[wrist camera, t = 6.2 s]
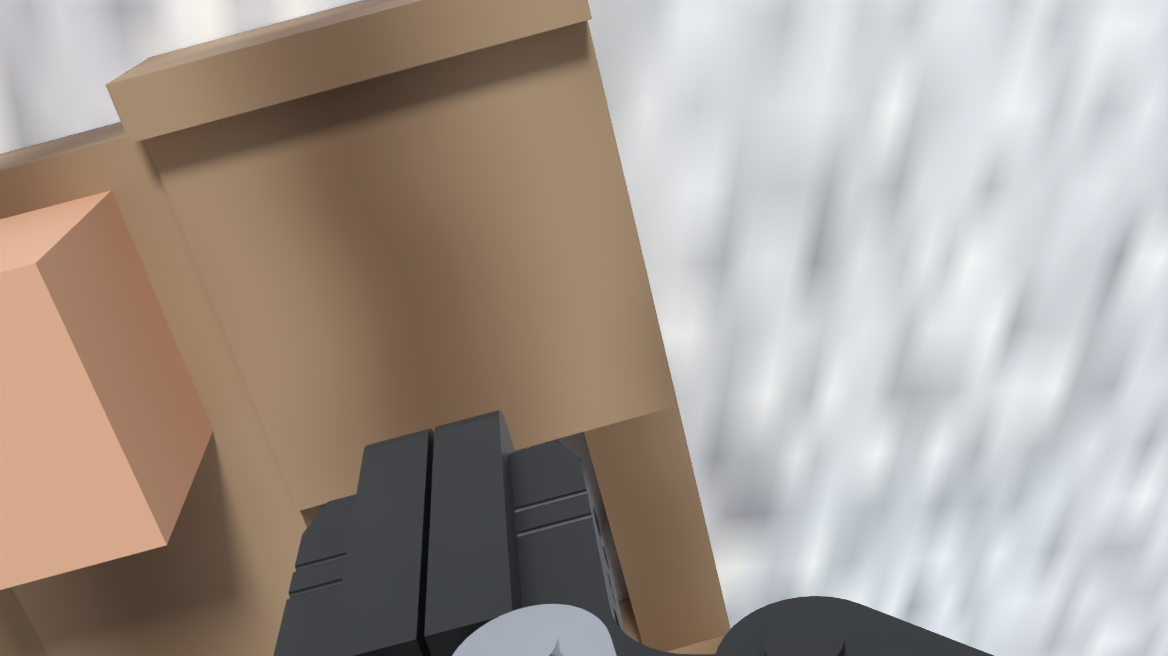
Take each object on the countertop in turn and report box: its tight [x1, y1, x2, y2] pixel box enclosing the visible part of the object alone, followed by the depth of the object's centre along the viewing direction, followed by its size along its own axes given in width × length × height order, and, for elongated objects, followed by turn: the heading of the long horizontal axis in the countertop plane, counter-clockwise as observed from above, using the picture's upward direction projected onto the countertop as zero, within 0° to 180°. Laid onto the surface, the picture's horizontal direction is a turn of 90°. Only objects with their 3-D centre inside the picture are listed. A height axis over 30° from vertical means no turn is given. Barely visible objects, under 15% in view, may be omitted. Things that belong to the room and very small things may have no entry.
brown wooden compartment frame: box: [0, 0, 730, 656], centre depth 21 cm, size 23×16×5 cm
